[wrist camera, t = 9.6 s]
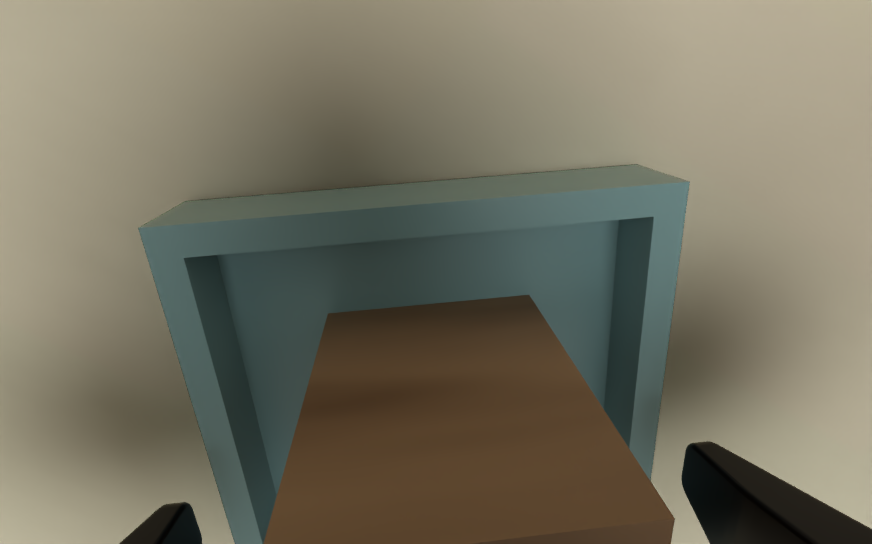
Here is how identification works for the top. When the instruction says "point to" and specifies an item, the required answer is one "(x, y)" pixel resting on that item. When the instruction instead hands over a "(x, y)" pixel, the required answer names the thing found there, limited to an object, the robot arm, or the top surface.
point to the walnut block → (457, 437)
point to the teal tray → (410, 293)
